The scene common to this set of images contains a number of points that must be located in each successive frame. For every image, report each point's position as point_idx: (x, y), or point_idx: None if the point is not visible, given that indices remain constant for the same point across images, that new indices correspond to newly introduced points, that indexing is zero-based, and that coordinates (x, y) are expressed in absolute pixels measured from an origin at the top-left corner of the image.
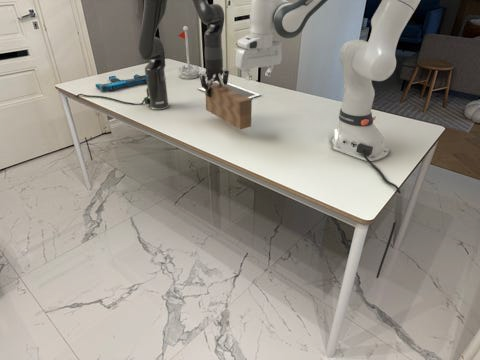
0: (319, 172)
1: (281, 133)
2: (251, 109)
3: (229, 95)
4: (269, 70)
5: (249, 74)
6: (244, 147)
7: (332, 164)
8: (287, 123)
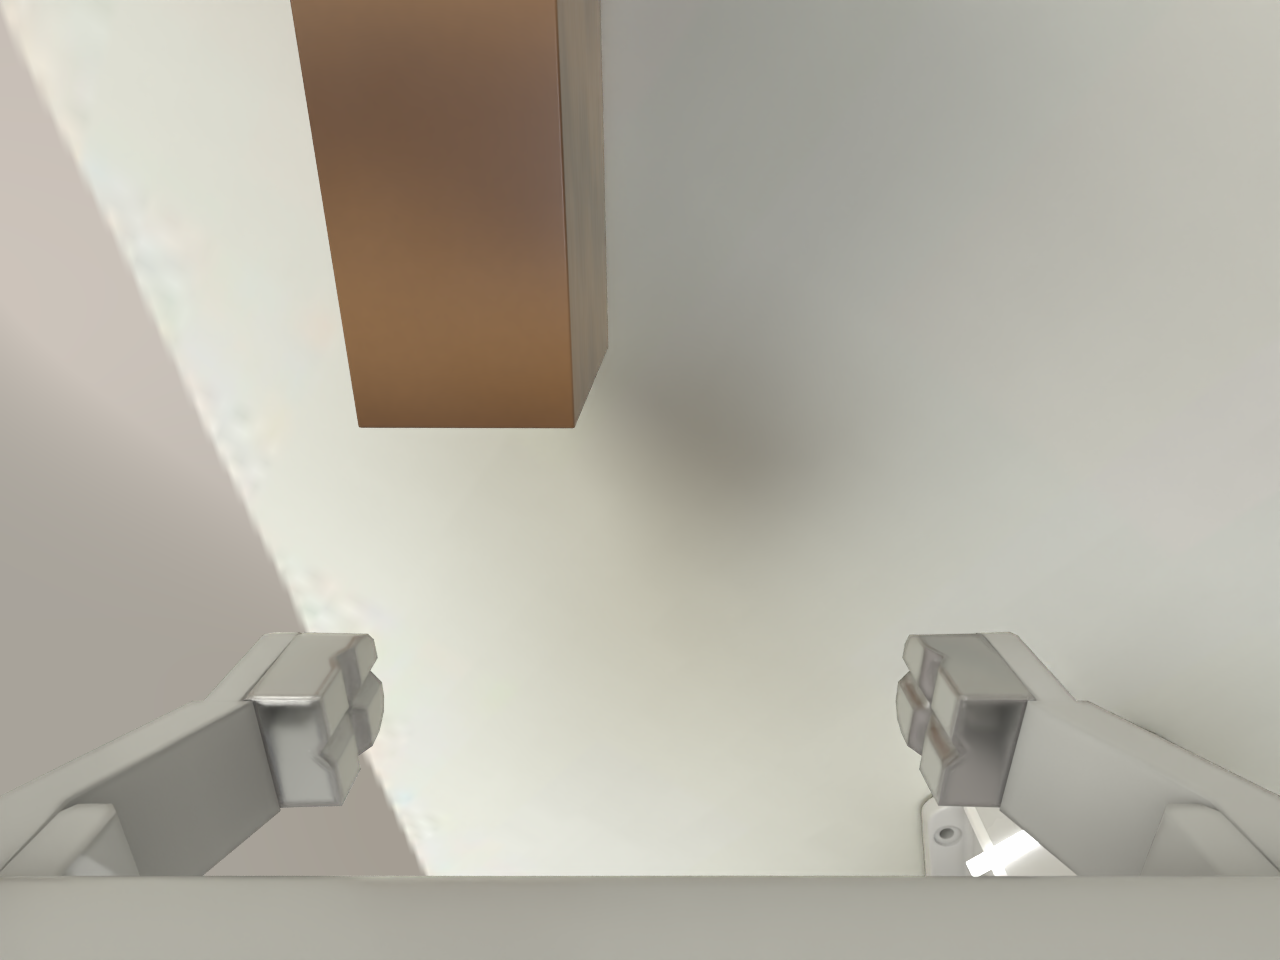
0: None
1: (854, 449)
2: (590, 388)
3: (335, 41)
4: (1062, 816)
5: (228, 850)
6: (454, 465)
7: None
8: (1069, 322)
